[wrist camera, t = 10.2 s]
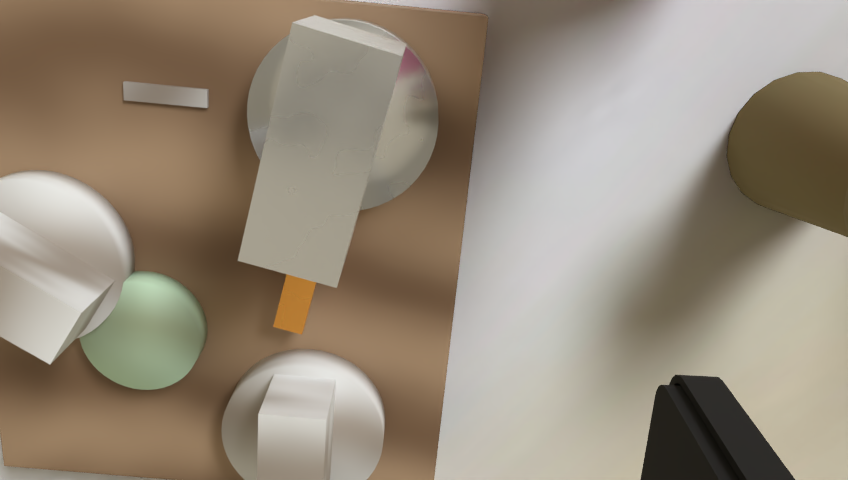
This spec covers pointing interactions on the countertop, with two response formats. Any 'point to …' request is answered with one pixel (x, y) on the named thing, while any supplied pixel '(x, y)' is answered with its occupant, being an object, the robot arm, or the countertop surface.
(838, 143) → the cork
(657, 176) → the countertop surface
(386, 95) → the knob
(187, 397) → the plate
